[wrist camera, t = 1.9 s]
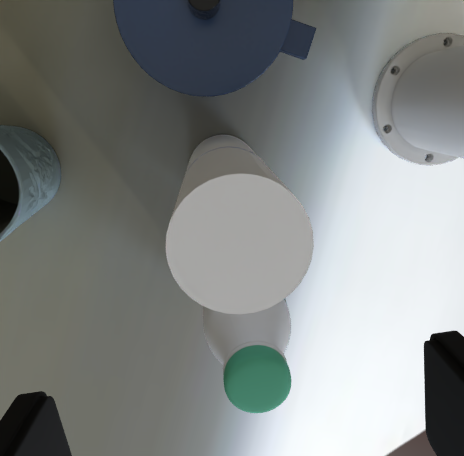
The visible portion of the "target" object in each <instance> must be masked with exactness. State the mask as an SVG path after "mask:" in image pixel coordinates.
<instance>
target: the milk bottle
mask: <svg viewBox="0 0 464 456" xmlns="http://www.w3.org/2000/svg"><path fill="white" fill-rule="evenodd" d="M203 327H204V333H205V337H206V340H207V343H208V345H209V347H210V349H211V351H212V353H213V354H214V355H215V357H216V358H217V359H218V360H219V361H220V362H221V363H222V364H223V365H224V366H223V374H224V388H225V392H226V394H227V396H228V398H229V400H230V401H231V402H232V404H233V405H235V406H236V407H237V408H239V409H241V410H243V411H246V412H250V413H263V412H267V411H270V410H272V409H274V408H276V407H278V406H279V405H280V404H281V403H282V402H283V401H284V400H285V399H286V398H287V396H288V394H289V391H290V388H291V375H290V370H289V367H288V365H287V361H286V358H285V356H284V352H285V350H286V348H287V346H288V343H289V339H290V334H291V320H290V313H289V309H288V306H287V303H286V300H285V299H283V300H282V301H281V302H279V303H277V304H275V305H273V306H272V307H270V308H268V309H264V310H261V311H258V312H255V313H247V314H226V313H222V312H218V311H214V310H211V309H209V308H207V307H204V306H203Z"/></svg>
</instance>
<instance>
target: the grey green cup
mask: <svg viewBox="0 0 464 456" xmlns="http://www.w3.org/2000/svg"><path fill="white" fill-rule="evenodd" d="M60 180H61V168H60V163H59V160H58V157H57V155H56V153H55V151H54V150H53V148H52V147H51V145H50V144H49V143H48V142H47V141H46V140H45V139H44V138H42V137H41V136H40V135H38V134H37V133H35V132H33V131H31V130H29V129H25V128H22V127H17V126H5V125H0V241H1V240H3V239H4V238H5V237H6V236H8V235H9V234H10V233H11V232H12V231H14V230H15V229H16V228H17V227H18V226H19V225H21V224H22V223H23V222H25V221H26V220H27V219H28V218H30V217H31V216H32V215H33V214H34V213H36V212H37V211H38V210H39V209H41V208H42V207H43V206H45V205H46V204H47V203H48V202H49V201H50V200H51V199H52V198H53V197H54V195H55V194H56V192H57V190H58V188H59V185H60Z"/></svg>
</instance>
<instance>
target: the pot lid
mask: <svg viewBox="0 0 464 456" xmlns="http://www.w3.org/2000/svg"><path fill="white" fill-rule="evenodd" d="M113 3H114V12H115V17H116V21H117V25H118V28H119V31H120V34H121V37H122V39H123V41H124V43H125V45H126V47H127V49H128V50H129V52H130V53H131V55H132V56H133V58H134V59H135V60H136V62H137V63H138V64H139V65H140V67H141V68H142V69H143V70H144V71H146V72H147V73H148V74H149V75H150V76H151V77H152V78H154V79H155V80H156V81H158V82H159V83H161V84H163V85H164V86H166V87H168V88H170V89H172V90H175V91H178V92H180V93H184V94H188V95H192V96H202V97H206V96H218V95H224V94H227V93H231V92H234V91H236V90H239V89H241V88H243V87H245V86H247V85H248V84H250V83H251V82H253V81H254V80H256V79H257V78H258V77H259V76H260V75H262V74H263V73H264V72H265V71H266V70H267V68H268V67H269V66H270V65H271V64H272V63H273V61H274V60H275V58H276V57H277V55H278V54H279V52H280V50H281V48H282V46H283V44H284V42H285V39H286V37H287V34H288V31H289V27H290V23H291V19H292V11H293V0H113Z"/></svg>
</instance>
